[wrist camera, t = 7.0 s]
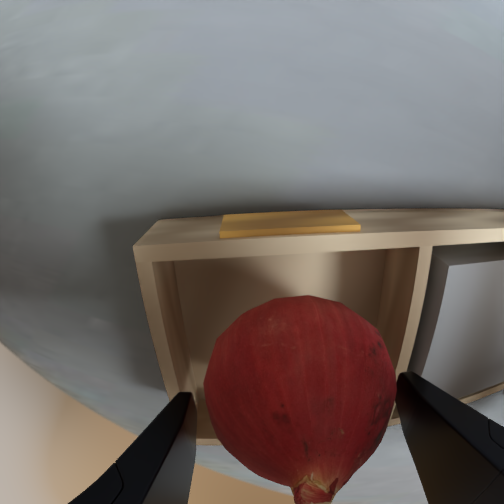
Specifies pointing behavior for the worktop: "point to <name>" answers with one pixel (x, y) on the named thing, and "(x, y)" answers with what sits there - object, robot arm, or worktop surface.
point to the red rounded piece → (301, 393)
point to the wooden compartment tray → (333, 287)
